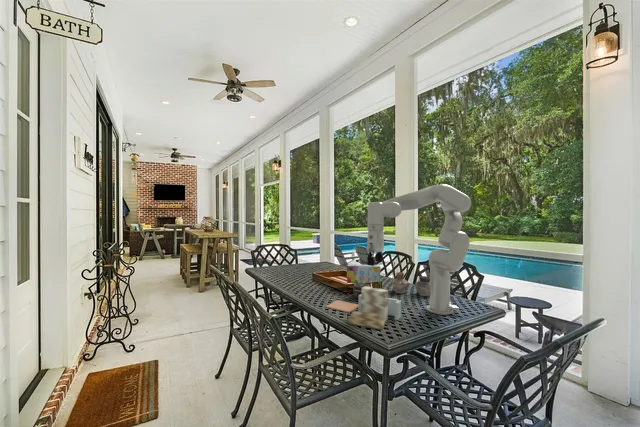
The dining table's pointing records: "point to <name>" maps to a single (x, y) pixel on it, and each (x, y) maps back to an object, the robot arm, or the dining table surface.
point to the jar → (358, 289)
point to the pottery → (421, 285)
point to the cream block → (375, 301)
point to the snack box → (363, 273)
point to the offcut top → (365, 316)
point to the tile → (342, 306)
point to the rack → (393, 307)
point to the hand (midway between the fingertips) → (374, 263)
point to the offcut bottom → (367, 323)
